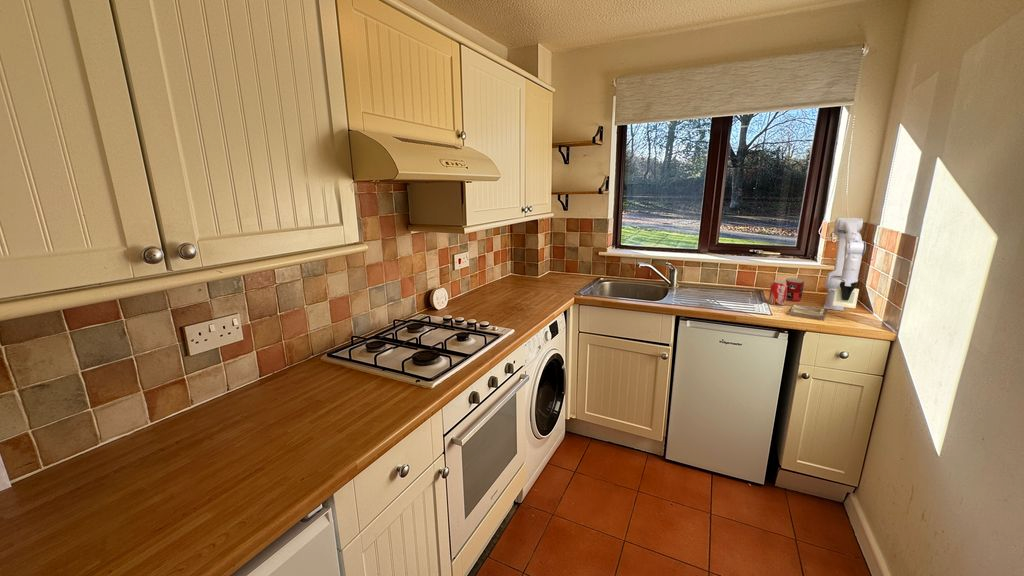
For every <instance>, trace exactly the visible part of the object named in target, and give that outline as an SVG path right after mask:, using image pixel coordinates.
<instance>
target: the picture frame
mask: <svg viewBox="0 0 1024 576" xmlns="http://www.w3.org/2000/svg"><path fill="white" fill-rule="evenodd" d="M859 291H860V289H859V288H855V289H854V290H853V291H852V293H851V295H850V298H849V300H848V301H847V300H842V291H841V287H838V286H836V289H835V295H834V300H833V305H834V306H841V307H845V308H850V309H856V307H857V302H858V297H859Z"/></svg>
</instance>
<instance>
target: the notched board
mask: <svg viewBox="0 0 1024 576" xmlns="http://www.w3.org/2000/svg"><path fill="white" fill-rule="evenodd" d="M828 310H829V309H827V308H823V307H820V306H814V305H813V306H812V305H805V304H798V303H792V305H791V306H790V308H789V309H788V311H787V312H786V315H787V316H791V317H795V318H796V317H797V318H804V319H810V320H816V321H821V320H822V321H821V322H823V321H825V317H826V315H827V313H828Z"/></svg>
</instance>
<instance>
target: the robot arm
mask: <svg viewBox="0 0 1024 576" xmlns="http://www.w3.org/2000/svg"><path fill="white" fill-rule="evenodd" d="M863 223H864V219H863V218H862V217H839V216H838V217H836V218H835V220H834V225H833V226H834V227H833V235H834V236H836V237H837V247H836V256H835V261H834V262H835V264H834V270H832V271H830V272H828V273H827V274H826V277H825V279H824V280H825V281H824V288H825V289H826V290H827V293H826V299H825V303H824V304H823V307H822V308H827V309H828V310H834V311H840V312H841V311H842V312H844V311H845V308H846V307H841V306H834V305H833V300H834V295H835V289H836V286H838V287H841V291H842V300H847V301H848V300H849V298H850V295H851V293H852V291H853V290H854V289H856V288H857V284H858V282H859V274H860V270H861V264H862V259H863V256H864V254H865V253H866V249H867V242H866V241H864V240H863V239H862V235H861V233H860V232H861V230H862V229H863V225H864V224H863Z"/></svg>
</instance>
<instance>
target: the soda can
mask: <svg viewBox="0 0 1024 576" xmlns="http://www.w3.org/2000/svg"><path fill="white" fill-rule="evenodd" d="M787 288H788V286H787V282H786V280H785V281H784V280H773V282H772V283H771V287H770V291H769V298H768V300H769V301H768V303H769V304H770V305H771V306H775V307H782V306H784V305H785V304H786V301H787V300H786V295H787Z"/></svg>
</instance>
